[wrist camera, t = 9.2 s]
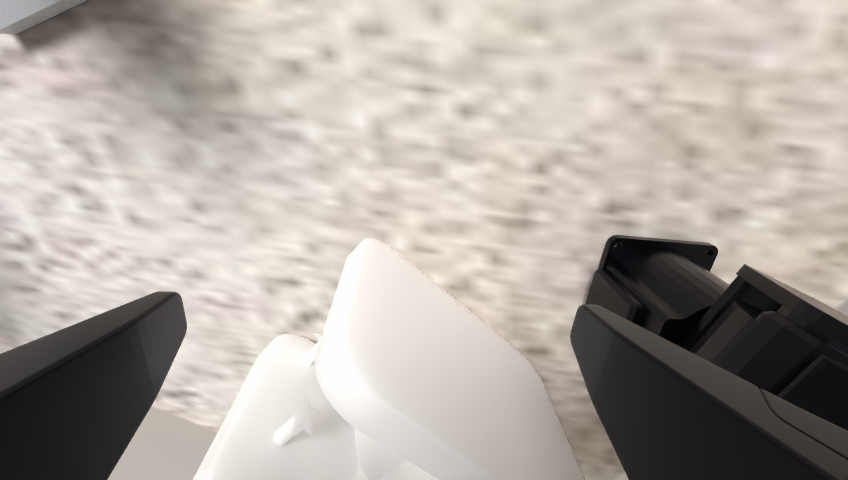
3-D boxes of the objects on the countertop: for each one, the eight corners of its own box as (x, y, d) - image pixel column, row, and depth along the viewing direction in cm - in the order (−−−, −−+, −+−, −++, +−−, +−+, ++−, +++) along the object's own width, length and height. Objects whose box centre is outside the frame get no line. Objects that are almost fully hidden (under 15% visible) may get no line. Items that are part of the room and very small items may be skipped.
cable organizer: (543, 362, 26) (636, 562, 15) (434, 447, 29) (449, 666, 18) (370, 220, 22) (335, 364, 11) (262, 337, 24) (149, 542, 14)
